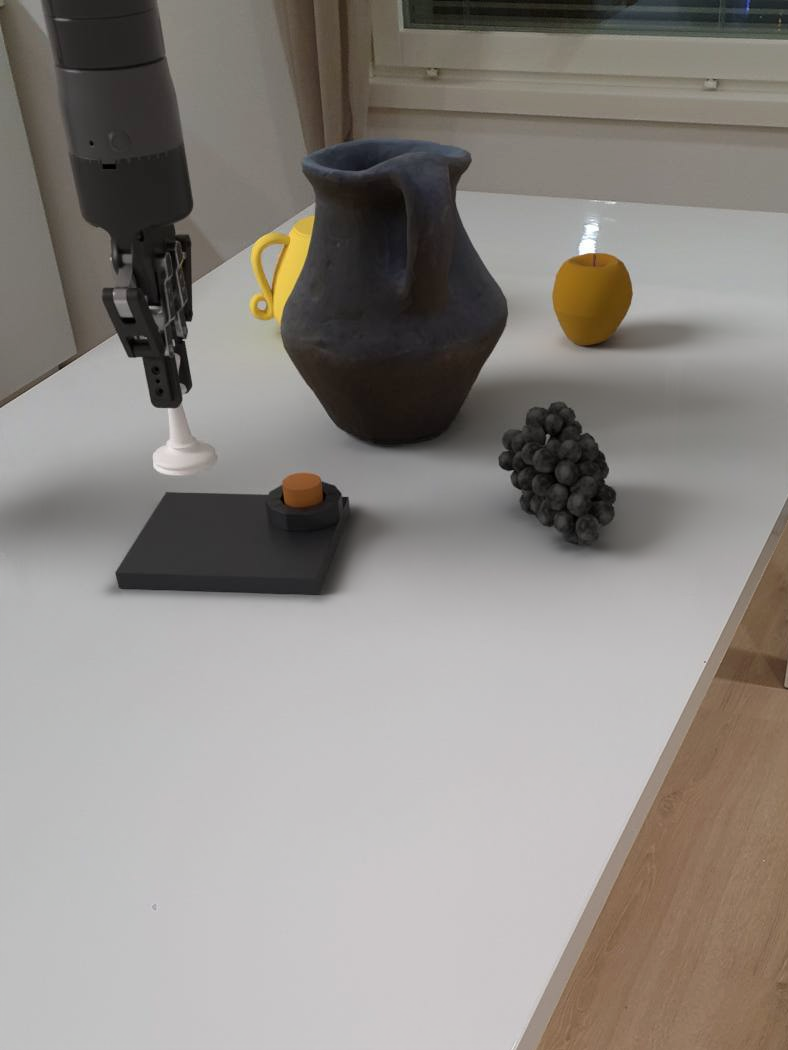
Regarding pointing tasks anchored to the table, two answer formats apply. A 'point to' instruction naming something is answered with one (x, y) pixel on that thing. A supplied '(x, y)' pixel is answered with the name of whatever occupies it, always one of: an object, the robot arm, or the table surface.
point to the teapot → (280, 268)
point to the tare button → (302, 490)
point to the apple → (591, 297)
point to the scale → (236, 543)
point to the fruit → (560, 473)
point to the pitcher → (391, 291)
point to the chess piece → (183, 445)
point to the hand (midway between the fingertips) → (172, 398)
